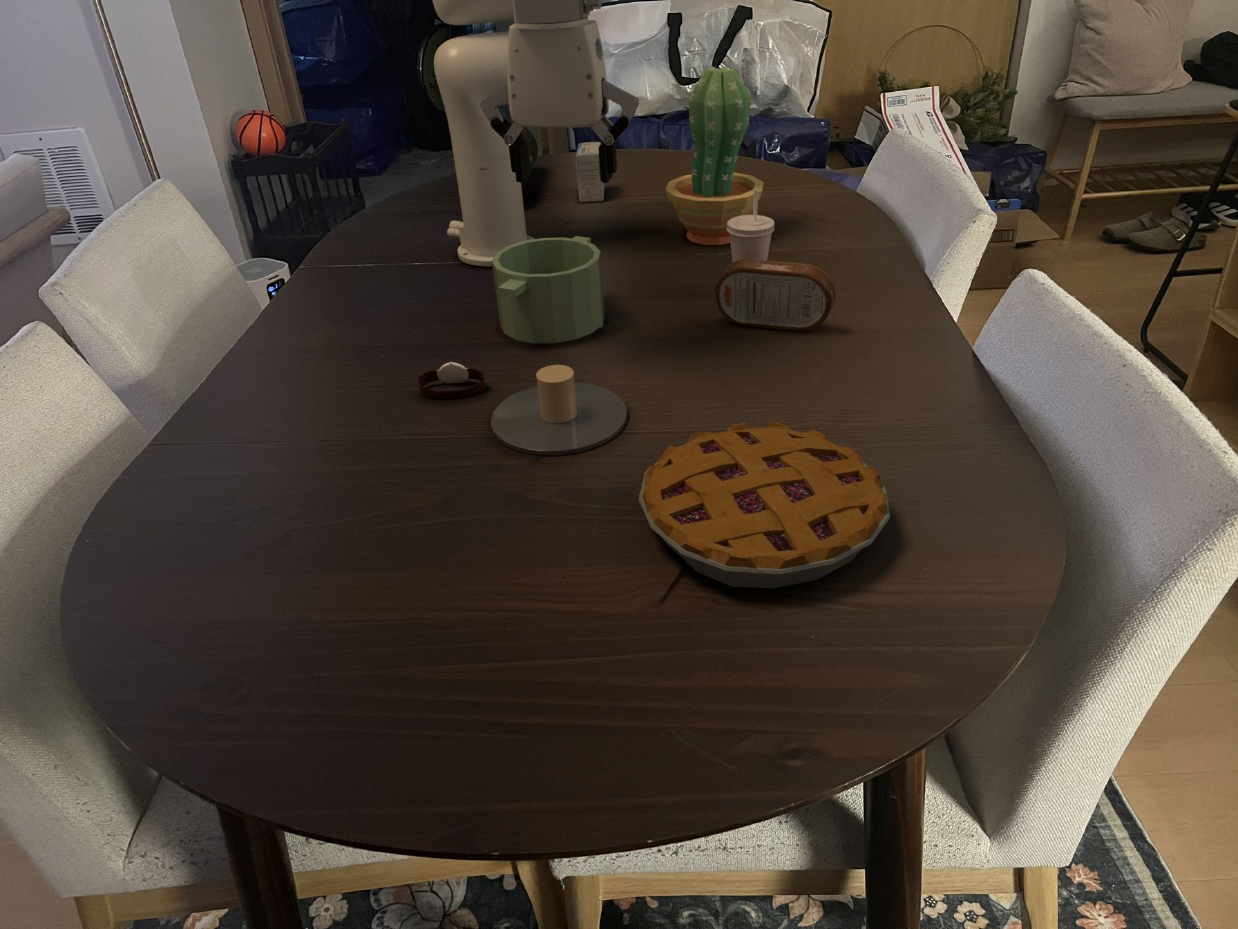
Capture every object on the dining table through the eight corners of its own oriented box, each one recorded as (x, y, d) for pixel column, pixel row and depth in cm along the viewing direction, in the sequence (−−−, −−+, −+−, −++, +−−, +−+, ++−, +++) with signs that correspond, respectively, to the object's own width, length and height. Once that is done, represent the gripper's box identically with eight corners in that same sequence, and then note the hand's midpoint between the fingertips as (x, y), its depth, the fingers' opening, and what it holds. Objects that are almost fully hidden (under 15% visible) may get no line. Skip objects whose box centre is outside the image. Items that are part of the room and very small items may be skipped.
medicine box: (603, 202, 165) (600, 152, 160) (578, 203, 165) (575, 154, 161) (604, 188, 172) (602, 141, 167) (581, 190, 172) (577, 142, 167)
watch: (488, 382, 109) (484, 355, 107) (484, 402, 105) (480, 374, 103) (423, 386, 109) (418, 359, 107) (417, 406, 105) (411, 378, 103)
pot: (469, 345, 118) (458, 275, 113) (546, 291, 132) (539, 226, 127) (560, 363, 113) (554, 290, 107) (630, 304, 126) (627, 237, 121)
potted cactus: (783, 236, 146) (791, 67, 132) (707, 260, 139) (708, 84, 125) (720, 213, 157) (722, 54, 143) (647, 234, 150) (641, 69, 136)
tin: (833, 326, 118) (838, 263, 113) (829, 336, 115) (834, 273, 110) (718, 315, 122) (718, 254, 117) (712, 325, 120) (712, 263, 115)
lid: (465, 443, 98) (456, 391, 95) (537, 381, 109) (532, 334, 106) (586, 473, 92) (581, 420, 89) (650, 405, 103) (648, 355, 99)
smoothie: (770, 299, 125) (774, 197, 118) (723, 298, 127) (724, 197, 119) (773, 281, 131) (777, 182, 123) (728, 280, 132) (729, 182, 124)
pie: (604, 491, 89) (601, 448, 86) (798, 436, 96) (800, 394, 93) (711, 634, 72) (711, 585, 69) (937, 554, 79) (945, 507, 76)
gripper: (641, 1, 94) (647, 170, 104) (482, 6, 98) (501, 169, 107) (626, 11, 88) (634, 190, 98) (457, 16, 92) (480, 188, 101)
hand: (564, 179), depth 102 cm, fingers open, 9 cm apart
